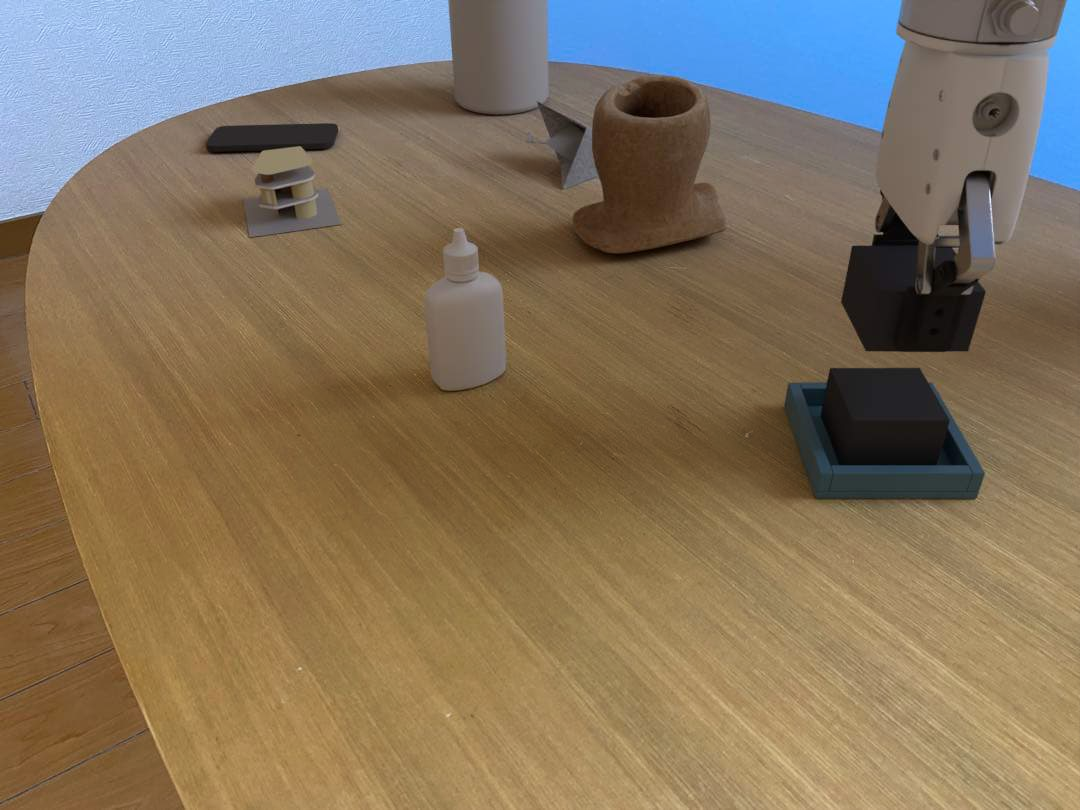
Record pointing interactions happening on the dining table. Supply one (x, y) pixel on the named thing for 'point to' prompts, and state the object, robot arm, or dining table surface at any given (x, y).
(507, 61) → the cylinder vase
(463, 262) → the eye dropper bottle
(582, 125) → the paper boat
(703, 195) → the stone cup
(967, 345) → the black block
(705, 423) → the dining table surface
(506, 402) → the dining table surface
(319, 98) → the dining table surface
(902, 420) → the dark brown square block
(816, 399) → the dock
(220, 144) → the phone
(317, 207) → the stacked layers on plate
